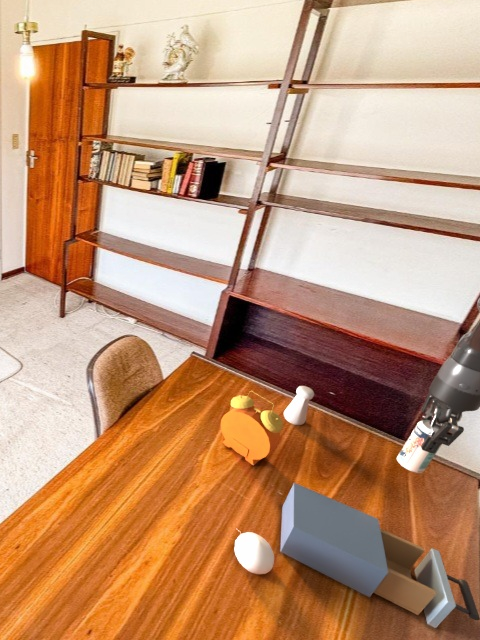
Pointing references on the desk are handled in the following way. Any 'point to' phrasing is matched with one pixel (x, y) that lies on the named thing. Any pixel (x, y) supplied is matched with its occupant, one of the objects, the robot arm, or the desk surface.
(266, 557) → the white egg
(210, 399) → the desk surface
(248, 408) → the alarm clock
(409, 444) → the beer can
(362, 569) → the cabinet
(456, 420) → the robot arm
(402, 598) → the drawer
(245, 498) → the desk surface
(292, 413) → the salt shaker
